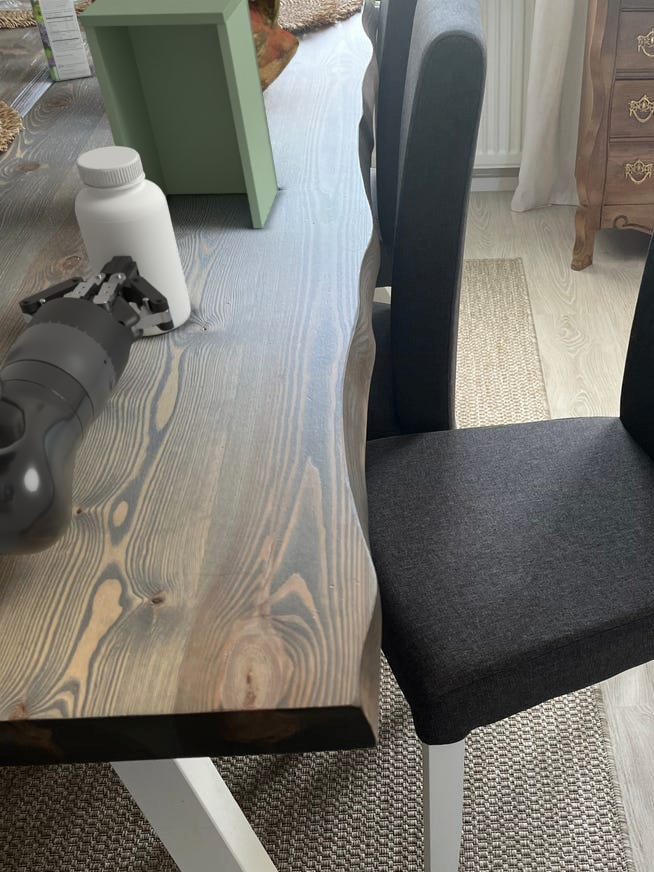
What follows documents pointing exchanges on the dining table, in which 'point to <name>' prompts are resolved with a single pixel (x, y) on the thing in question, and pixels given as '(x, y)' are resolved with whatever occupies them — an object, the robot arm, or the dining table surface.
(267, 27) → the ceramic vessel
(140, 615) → the dining table surface
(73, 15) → the syrup box
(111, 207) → the pill bottle
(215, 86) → the cabinet
